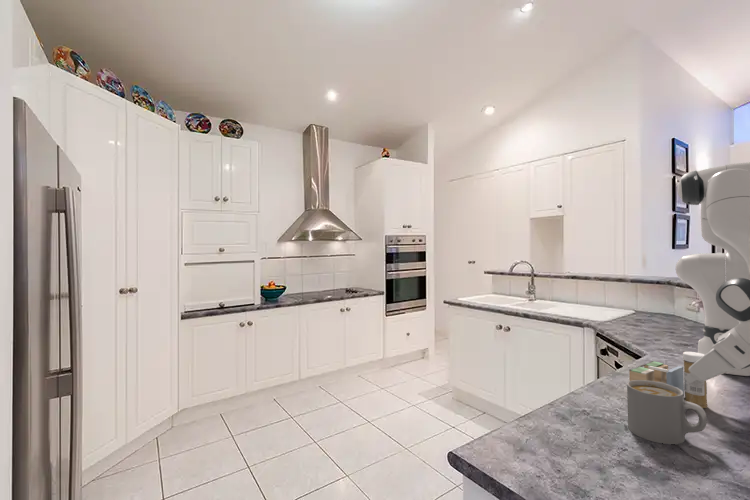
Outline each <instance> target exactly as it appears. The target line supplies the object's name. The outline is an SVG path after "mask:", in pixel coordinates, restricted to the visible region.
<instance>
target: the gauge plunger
mask: <svg viewBox="0 0 750 500" xmlns="http://www.w3.org/2000/svg"><path fill="white" fill-rule="evenodd" d="M648 368H650V369H654V370H659V371H663V372H666V377H667V384H668V385H671V386H674V387H677V388H679V389H680V390H682V391H683V394H684V395H685V390H684V366H681V365H677V366H676V367H673V368H670V369H668V370H667V369H662V368H658V367H653V366H648ZM660 383H662V382H660ZM665 384H666V383H665Z"/></svg>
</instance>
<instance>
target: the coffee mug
mask: <svg viewBox="0 0 750 500" xmlns="http://www.w3.org/2000/svg"><path fill="white" fill-rule="evenodd" d="M626 394H627V395H626V396H627V397H626V398H627V402H626V403H627V429H628V430H629V431H630V432H631V433H633V434H634V435H636V436H637V437H640V438H641V439H643V440H647V441H650V442H653V443H657V444H662V443H663V444H664V445H671V444H675V445H681V444H683V443H685V441H686V435H687V434H689V433H691V434H692V433H699V432H702V431H704V430H705V429H706V427H707V423H708V419H707V417H708V416H707V413H706V411H705V410H704V408H702V407H700V406H699V405H697V404H694V403H692V402H688V401H685V393H684V394H683V391H682V390H680V389H679V388H677V387H674V386H671V385H668V384H665V383H660V382H655V381H648V380H632V381H630V380H629V381H628V382H627V383H626ZM687 410H688V411H689V410H692V411H694V412H695V413H696V414H697V416H698V422H697V423H696V424H693V423H691V422H689V421H688V419H687V416H686V412H687Z"/></svg>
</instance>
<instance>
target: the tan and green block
mask: <svg viewBox="0 0 750 500" xmlns="http://www.w3.org/2000/svg"><path fill="white" fill-rule="evenodd" d="M648 366H653V367H658V368H662V369H667V370H669V365H668V364H664V363H663V362H659V361H653V360H651V361H648V362H646V363H643V364H639V365H637V366H636V367H635V366H634V367H632V368H629V372H628V373H629V378H628V379H629V381H632V380H648V381H655V382H662V383H666V384H667V377H666V372H663V371H659V370H654V369H650V368H648Z"/></svg>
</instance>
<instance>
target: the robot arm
mask: <svg viewBox="0 0 750 500" xmlns="http://www.w3.org/2000/svg"><path fill="white" fill-rule="evenodd" d="M677 195H678V196H679V199H681V202H682V203H684V204H686V205H691V206H699V205H700V226H701V227H700V229H701V237H702V239H703V240H704V241H706V242H707V243H708V244H710V245H712V246H715V247H717V248H718V247H719V248H721V249H723V250H724V251H726V252H722V253H721V252H717V253H715V252H714V253H712V252H710V253H708V252H707V253H699V252H698V253H694V254H693V253H692V254H687V255H683V256H682V257H680V258H679V259H678V261H677V262H676V264H675V273H676V275H677V277H678V279H679V280H681V281H682V282H683V283H685V284H686V285H688V286H689V287H691V288H692V289H693V290H694V291H695V292H696V294H698V296H699V298H700V300H701V302H702V305H703V313H704V324H703V326H702V327H703V328H702V332H703V337H702V338H700V339H699V340H698V342H697V343H698V344H697V353H702V354H704V356H703V357H701V358H700V359H699V360H697V361H696V362H695V363H694V364H692V365H691V366H690V367H689V369H688V370H689V371H690V372H691V373H690V374H688V375H687V376H685V377H684V378H685V380H686V381H687V382H688V383H692V382H694V381H696V380H699V381H706V382H707V381H708V380H712V379H714V378H716V377H718V376H720V375H723V374H727V375H734V376H745V377H750V162H749V161H748V162H738V163H729V164H724V165H720V166H714V167H709V168H705V169H701V170H698V171H697V170H693V171H690V172H687V173H684V174H683V175H682V176H681V177H680V180H679V181H678V183H677Z"/></svg>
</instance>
